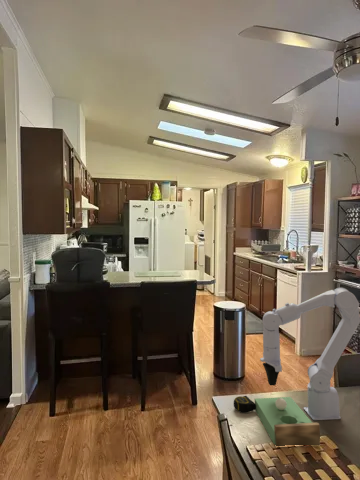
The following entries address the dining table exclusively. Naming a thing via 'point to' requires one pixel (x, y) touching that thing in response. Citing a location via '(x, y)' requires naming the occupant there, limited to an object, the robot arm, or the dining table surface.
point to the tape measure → (244, 404)
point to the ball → (281, 404)
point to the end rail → (297, 433)
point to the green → (279, 415)
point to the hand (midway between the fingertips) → (272, 384)
